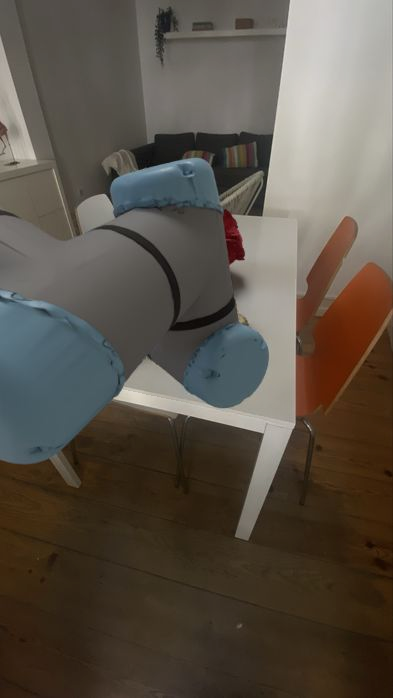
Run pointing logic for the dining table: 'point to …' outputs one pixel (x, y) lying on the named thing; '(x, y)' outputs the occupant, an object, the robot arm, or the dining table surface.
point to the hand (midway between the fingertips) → (94, 286)
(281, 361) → the dining table surface
